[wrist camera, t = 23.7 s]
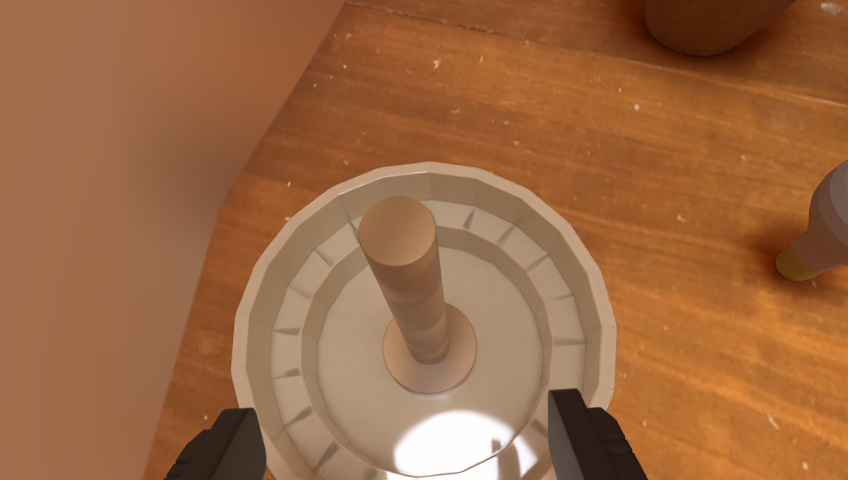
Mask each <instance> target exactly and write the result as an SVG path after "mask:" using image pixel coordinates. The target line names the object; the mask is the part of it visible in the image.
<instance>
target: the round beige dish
mask: <svg viewBox="0 0 848 480" xmlns="http://www.w3.org/2000/svg"><path fill="white" fill-rule="evenodd" d="M391 197H408V198H411V199H414V200H417V201H419V202H420V203H422V204H423V205H424V206H426V207H427V208H428V210H429V211H430V212H431V214H432V215H433V218H434V220H435V224H436V232H437V241H438V250H439V258H440V267H441V276H442V285H443V293H444V302H446V303H448V304H451V305H452V306H454V307H456V308H457V309H459V310H460V311H461V312H462V313H463V314H464V315H465V316H466V317H467V318H468V320H469V321H470V323H471V325H472V327H473V329H474V332H475V335H476V341H477V351H476V359H475V363H474V366H473V369H472V371H471V373H470V375H469V376H468V378H467V379H466V380H465V381H464V382H463V384H462V385H460V386H459V387H458V388H457V389H455V390H453V391H452V392H450V393H447V394H445V395H441V396H436V397H425V396H419V395H416V394H413V393H411V392H409V391H407V390H406V389H404V388H403V387H402V386H400V385H399V384H398V383H397V382H396V381H395V379H394V378H393V377H392V375H391V374H390V373H389V371H388V369H387V367H386V364H385V362H384V358H383V350H382V345H383V338H384V334H385V331H386V328H387V326H388V324H389V323H390V321H391V320H392V318H393V317H394V316H393V314H392V312H391V310H390V308H389V306H388V304H387V302H386V299H385V297H384V295H383V293H382V291H381V289H380V287H379V285H378V282H377V280H376V278H375V276H374V274H373V272H372V270H371V268H370V265H369V263H368V261H367V259H366V257H365V255H364V253H363V251H362V248H361V246H360V243H359V239H358V229H359V225H360V222H361V220H362V218H363V216H364V214H365V213H366V212H367V211H368V210H369V208H371V207H372V206H373V205H374V204H376V203H377V202H379V201H381V200H384V199H387V198H391ZM616 345H617V325H616V321H615V318H614V314H613V311H612V307H611V304H610V300H609V297H608V293H607V290H606V286H605V283H604V279H603V276H602V272H601V271H600V268H599V267H598V265H597V264H596V262H595V261H594V259H593V258H592V256H591V255H590V253H589V252H588V250H587V249H586V247H585V246H584V244H583V243H582V241H581V240H580V238H579V237H578V235H577V234H576V232H575V231H574V229H573V228H572V226H571V225H570V224H569V222H568V221H566V220H565V219H564V218H563V217H561V216H560V215H559V214H558V213H557V212H555V211H554V210H553V209H552V208H551V207H549V206H548V205H547V204H546V203H544V202H543V201H542V200H541V199H540V198H538V197H537V196H536V195H535V194H534V193H532V192H531V191H530V190H529V189H527V188H525V187H522V186H520V185H518V184H515V183H513V182H511V181H508V180H506V179H504V178H502V177H499V176H497V175H495V174H492V173H490V172H488V171H485V170H483V169H480V168H475V167H467V166H460V165H453V164H445V163H438V162H431V161H430V162H421V163H413V164H405V165H398V166H390V167H382V168H377V169H375V170H372V171H370V172H367V173H365V174H362V175H360V176H357V177H355V178H352V179H350V180H348V181H345V182H343V183H340V184H338V185H335V186H333V187H332V188H329V189H328V190H327V191H325V192H324V193H323V194H321V195H320V196H319V197H318V198H316V199H315V200H314V201H312V202H311V203H310V204H308V205H307V206H306V207H304V208H303V209H302V210H300V211H299V212H298V213H296V214H295V215H294V216H292V217H291V218H290V220H288V221H287V223H286V224H285V225H284V226H283V228H282V229H281V230H280V232H279V233H278V234H277V236H276V237H275V238H274V239H273V241H272V242H271V243H270V245H269V246H268V247H267V249H266V250H265V251H264V252H263V254H262V255H261V256H260V258H259V259H258V260H257V262H256V264H255V266H254V269H253V271H252V274H251V276H250V279H249V281H248V284H247V286H246V289H245V291H244V294H243V296H242V299H241V301H240V304H239V307H238V309H237V312H236V314H235V325H234V338H233V350H232V363H231V376H232V380H233V384H234V388H235V392H236V397H237V401H238V405H239V408H249V407H252V408H254V409H255V411H256V413H257V417H258V421H259V425H260V429H261V433H262V437H263V441H264V445H265V449H266V455H267V462H266V465H267V467H268V468H269V470H270V471H271V473H272V475H273V476H274V478H275V479H276V480H557V477H556V474H555V470H554V467H553V464H552V461H551V457H550V452H549V445H548V391H549V390H554V389H570V388H577V389H578V390H579V392H580V394H581V396H582V398H583V400H584V402H585V404H586V406H587V408H592V407H601V408H603V409H604V410H605V411H607V409H608V406H609V404H610V401H611V399H612V396H613V394H614V392H613V391H614V388H615V366H616Z"/></svg>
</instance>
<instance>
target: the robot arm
mask: <svg viewBox="0 0 848 480" xmlns="http://www.w3.org/2000/svg"><path fill="white" fill-rule="evenodd" d="M548 445H549V452H550V457H551V461H552V464H553V467H554V470H555V474H556V477H557V480H648V479H647V477H646V475H645V473H644V471H643V469H642V467H641V465H640V464H639V462H638V460H637V458H636V456H635V454H634V453H633V452H632V449H631V447H630V445H629V443H628V441H627V440H626V439H625V436H624V434H623V432H622V430H621V428H620V426H619V424H618V422H617V421H616V420H615V419H614V418H613V417H612V416H611V415H610V414H608V413H607V412H606V411H605V410H604V409H603V408H601V407H592V408H587V406H586V404H585V402H584V400H583V398H582V396H581V394H580V392H579V390H578V389H577V388H570V389H554V390H549V391H548ZM266 462H267V455H266V449H265V445H264V441H263V437H262V433H261V429H260V425H259V421H258V417H257V413H256V411H255V409H254V408H252V407H249V408H233V409H225V410H223V411H222V412H221V414H220V415H219V417H218V418H217V420H216V422H215V423H214V425H213V426H212V428H211V429H210V430H203V431H202V432H201V433H199V434H198V435H197V436H196V437H195V438H194V439H193V440H191V441H190V442H189V443H188V444H187V445H186V446H185V448H184V449H183V451H182V452H181V454H180V456H179V457H178V459H177V460H176V464H174V465H173V466H172V468H171V469H170V471H169V472H168V474H167V478H164V480H262V479H263V477H264V474H265V470H266Z"/></svg>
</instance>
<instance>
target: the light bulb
mask: <svg viewBox="0 0 848 480" xmlns="http://www.w3.org/2000/svg"><path fill="white" fill-rule="evenodd" d="M843 264H845V265H848V160H846V161H845V162H843V163H842V164H841V165H839V166H838V167H836V168H835V169H834V170H832V171H831V172H830V173H829V174H827V175H826V176H825V178H824V179H823V180H822V182H821V183H820V184H819V186H818V187H817V189H816V190H815V192H814V194H813V196H812V200H811V205H810V209H809V224H808V230H807V231H806V232H805V233H804V234H802V235H801V236H799V237H798V238H796V239H795V241H794V243H793V244H792V245H790V246H789V247H787V248H786V249H784V250H783V251H781V252H780V253H779V254H778V255H777V258H776V267H777V269H778V271H779V272H780V273H781V274H782V275H783V276H784V277H786V278H787V279H790V280H792V281H806V280H808V279H810V278H813V277H815V276H817V275H818V274H820V273H822V272H828V271H831V270H833V269H835V268H836V267H838V266H840V265H843Z"/></svg>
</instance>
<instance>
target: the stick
mask: <svg viewBox="0 0 848 480" xmlns="http://www.w3.org/2000/svg"><path fill="white" fill-rule="evenodd" d="M358 239H359V243H360V246H361V248H362V251H363V253H364V255H365V257H366V259H367V261H368V263H369V265H370V268H371V270H372V272H373V274H374V276H375V278H376V280H377V282H378V285H379V287H380V289H381V291H382V293H383V295H384V297H385V299H386V302H387V304H388V306H389V308H390V310H391V312H392V314H393V316H394V317H393V318H392V320H391V321H390V323H389V324H388V326H387V328H386V331H385V334H384V338H383V345H382V350H383V358H384V362H385V364H386V367H387V369H388V371H389V373H390V374H391V375H392V377H393V378H394V379H395V381H396V382H397V383H398V384H399V385H400V386H402V387H403V388H404V389H406V390H407V391H409V392H411V393H413V394H416V395H419V396H425V397H436V396H441V395H445V394H447V393H450V392H452V391H453V390H455V389H457V388H458V387H459V386H460V385H462V384H463V382H464V381H465V380H466V379H467V378H468V376H469V375H470V373H471V371H472V369H473V366H474V363H475V359H476V351H477V341H476V335H475V332H474V329H473V327H472V325H471V323H470V321H469V320H468V318H467V317H466V316H465V315H464V314H463V313H462V312H461V311H460V310H459V309H457V308H456V307H454V306H452V305H451V304H448V303H446V302H444V293H443V285H442V276H441V267H440V258H439V250H438V241H437V232H436V224H435V220H434V218H433V215H432V214H431V212H430V211H429V210H428V208H427V207H426V206H424V205H423V204H422V203H420V202H419V201H417V200H414V199H411V198H408V197H391V198H387V199H384V200H381V201H379V202H377V203H376V204H374V205H373V206H372V207H371V208H369V210H368V211H367V212H366V213H365V214H364V216H363V218H362V220H361V222H360V225H359V229H358Z"/></svg>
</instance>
